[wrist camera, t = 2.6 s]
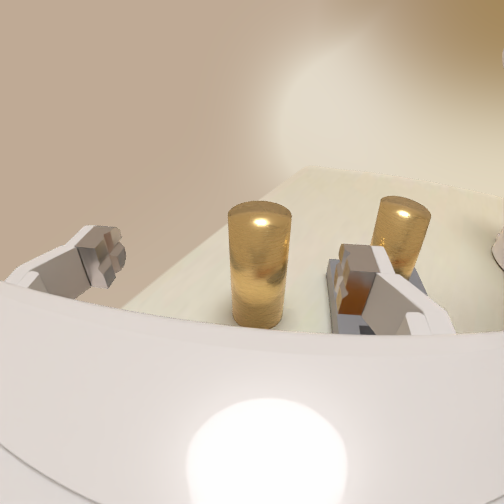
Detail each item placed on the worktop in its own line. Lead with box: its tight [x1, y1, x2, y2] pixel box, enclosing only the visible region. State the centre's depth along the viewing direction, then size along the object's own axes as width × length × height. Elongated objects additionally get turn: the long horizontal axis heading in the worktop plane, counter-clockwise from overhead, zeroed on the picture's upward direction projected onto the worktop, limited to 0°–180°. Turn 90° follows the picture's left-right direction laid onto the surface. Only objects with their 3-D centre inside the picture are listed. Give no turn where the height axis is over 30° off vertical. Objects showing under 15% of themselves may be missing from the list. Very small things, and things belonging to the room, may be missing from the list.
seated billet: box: [370, 196, 431, 281], centre depth 27 cm, size 5×5×11 cm
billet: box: [228, 201, 292, 329], centre depth 26 cm, size 5×5×11 cm
